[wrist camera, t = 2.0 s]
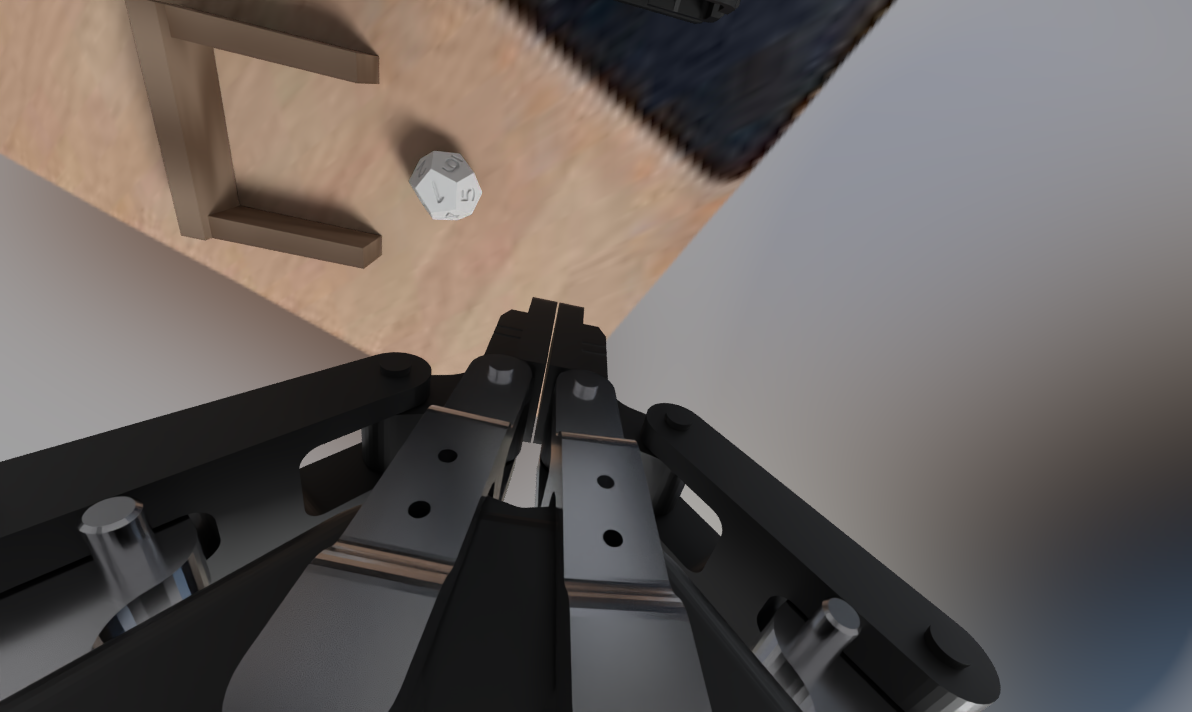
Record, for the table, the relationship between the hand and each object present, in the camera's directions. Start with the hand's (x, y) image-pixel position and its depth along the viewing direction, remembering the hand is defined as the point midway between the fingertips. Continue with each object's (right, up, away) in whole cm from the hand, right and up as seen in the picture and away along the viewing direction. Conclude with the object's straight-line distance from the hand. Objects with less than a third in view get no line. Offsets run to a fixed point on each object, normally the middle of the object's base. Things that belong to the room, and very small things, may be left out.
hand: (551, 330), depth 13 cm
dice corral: (-15, +11, +11) cm, 21 cm away
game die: (-7, +9, +13) cm, 17 cm away
